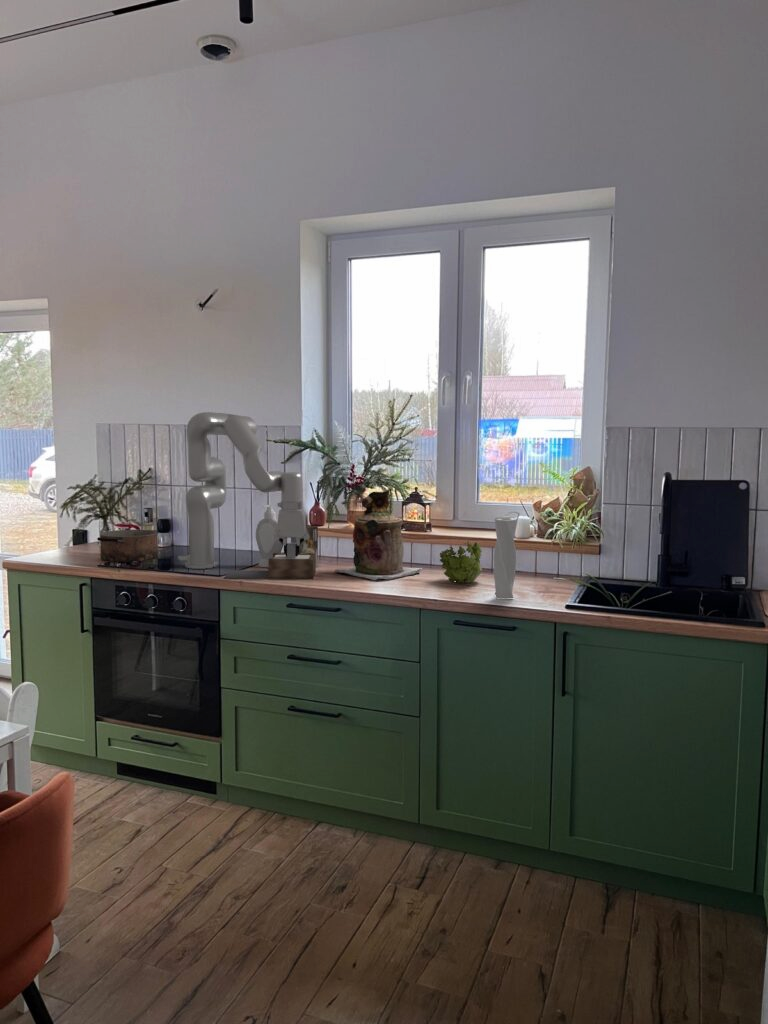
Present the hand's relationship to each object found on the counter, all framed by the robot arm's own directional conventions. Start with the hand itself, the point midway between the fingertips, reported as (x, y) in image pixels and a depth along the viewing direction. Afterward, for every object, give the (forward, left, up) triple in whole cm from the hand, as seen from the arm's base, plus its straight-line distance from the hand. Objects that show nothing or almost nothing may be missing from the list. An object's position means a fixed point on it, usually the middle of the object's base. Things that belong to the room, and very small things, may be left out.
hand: (291, 555), depth 280 cm
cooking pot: (-70, +35, -8) cm, 79 cm away
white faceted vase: (+72, -36, -8) cm, 81 cm away
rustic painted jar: (+32, +5, -8) cm, 33 cm away
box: (0, 0, -7) cm, 7 cm away
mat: (-16, 0, -7) cm, 18 cm away
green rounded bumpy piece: (+61, -10, -8) cm, 63 cm away
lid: (0, 0, -2) cm, 2 cm away
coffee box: (+3, +17, -8) cm, 19 cm away
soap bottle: (-11, +17, -8) cm, 21 cm away
